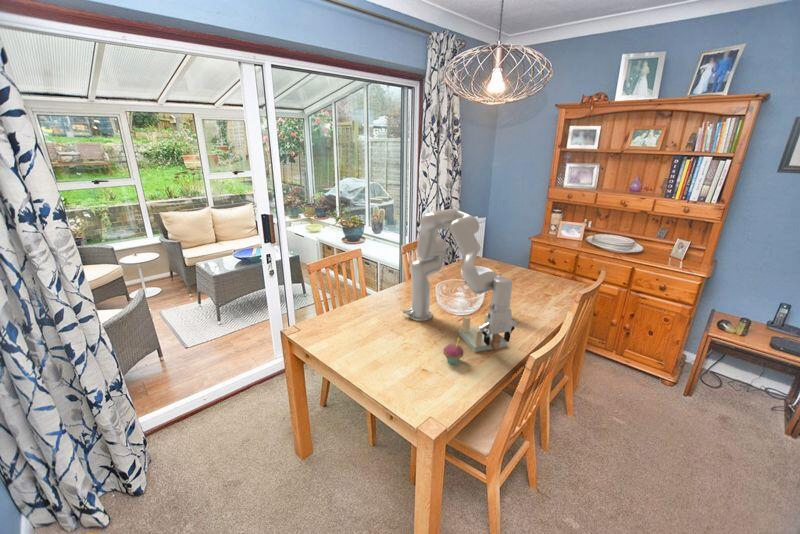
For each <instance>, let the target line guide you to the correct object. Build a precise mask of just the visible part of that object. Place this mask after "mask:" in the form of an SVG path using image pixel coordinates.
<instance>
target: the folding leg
mask: <svg viewBox="0 0 800 534" xmlns="http://www.w3.org/2000/svg"><path fill="white" fill-rule="evenodd" d="M501 336H502V335H500V333H498V334H493V335H492V339H491V338H490V342H489V344H490V345H491V347H492V348H493V349H492V350H494V351H495V350H500V348H499V347H500V339H501ZM489 337H490V336H489Z"/></svg>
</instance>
